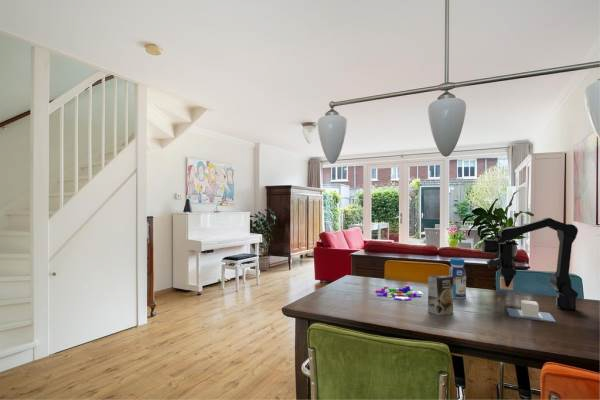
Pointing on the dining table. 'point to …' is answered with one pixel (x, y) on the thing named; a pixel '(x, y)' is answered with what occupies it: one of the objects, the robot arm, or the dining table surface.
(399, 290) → the building block set
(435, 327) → the dining table surface
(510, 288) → the terracotta block
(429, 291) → the coffee box
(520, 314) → the board
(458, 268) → the beverage bottle
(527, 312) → the cream block
